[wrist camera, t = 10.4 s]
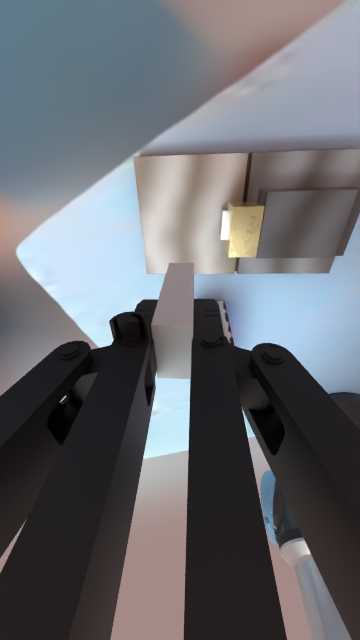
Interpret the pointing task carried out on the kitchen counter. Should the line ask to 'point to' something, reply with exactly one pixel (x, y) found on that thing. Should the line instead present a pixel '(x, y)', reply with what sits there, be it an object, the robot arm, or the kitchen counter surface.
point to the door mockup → (246, 186)
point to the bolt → (241, 228)
